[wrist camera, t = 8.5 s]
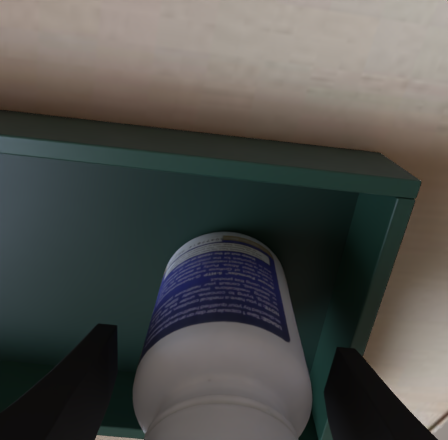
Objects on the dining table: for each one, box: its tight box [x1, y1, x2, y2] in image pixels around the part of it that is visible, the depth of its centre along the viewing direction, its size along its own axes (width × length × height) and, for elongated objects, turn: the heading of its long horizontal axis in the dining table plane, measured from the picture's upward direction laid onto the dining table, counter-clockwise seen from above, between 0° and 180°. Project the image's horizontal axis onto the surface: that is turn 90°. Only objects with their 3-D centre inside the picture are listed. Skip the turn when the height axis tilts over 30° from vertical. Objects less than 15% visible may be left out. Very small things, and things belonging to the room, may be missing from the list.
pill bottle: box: [133, 232, 312, 440], centre depth 12 cm, size 5×5×9 cm
